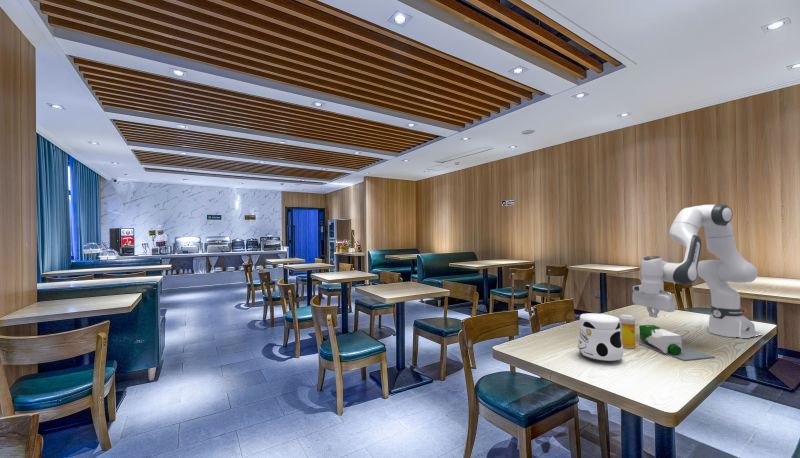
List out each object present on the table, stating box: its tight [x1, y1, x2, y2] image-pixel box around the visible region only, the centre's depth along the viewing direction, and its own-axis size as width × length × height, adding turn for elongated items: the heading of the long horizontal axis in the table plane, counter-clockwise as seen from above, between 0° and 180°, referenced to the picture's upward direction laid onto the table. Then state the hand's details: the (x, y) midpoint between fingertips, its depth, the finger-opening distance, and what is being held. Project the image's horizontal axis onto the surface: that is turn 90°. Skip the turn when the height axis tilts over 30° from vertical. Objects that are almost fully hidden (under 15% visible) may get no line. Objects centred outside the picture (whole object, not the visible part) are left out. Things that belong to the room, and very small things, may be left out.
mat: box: [638, 342, 716, 362], centre depth 158 cm, size 16×22×1 cm
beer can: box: [619, 314, 636, 350], centre depth 164 cm, size 6×6×15 cm
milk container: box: [577, 312, 624, 363], centre depth 151 cm, size 17×17×18 cm
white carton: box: [638, 324, 683, 355], centre depth 160 cm, size 9×9×20 cm
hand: (653, 317), depth 168 cm, fingers closed
